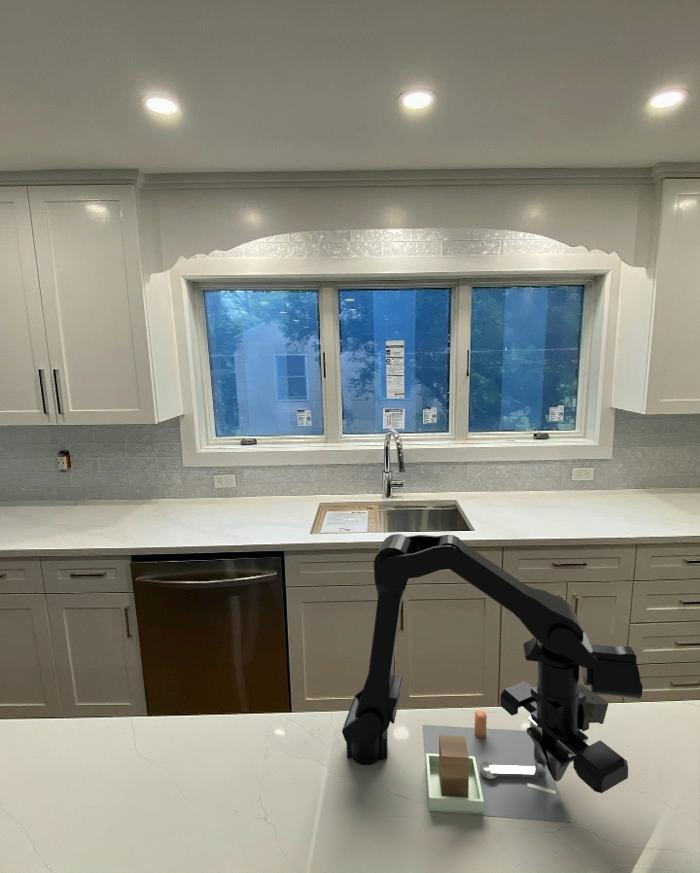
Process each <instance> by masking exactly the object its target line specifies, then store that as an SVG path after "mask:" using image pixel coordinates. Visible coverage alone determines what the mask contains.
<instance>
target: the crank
mask: <svg viewBox="0 0 700 873" xmlns="http://www.w3.org/2000/svg"><path fill="white" fill-rule="evenodd" d="M480 774H481V775H482V776H483V777H484V778H485V779H487V780H495V779H497V777H498V776H502V777H535V778H542V777H545V776H546V764H545V762H544V760H543V758H542V756H541V755H540V753H539V751H538V749H537V747H536V746H535V744H534V766H499V765H494V764H493V763H491V762H483V763H482V764H481V765H480Z"/></svg>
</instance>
